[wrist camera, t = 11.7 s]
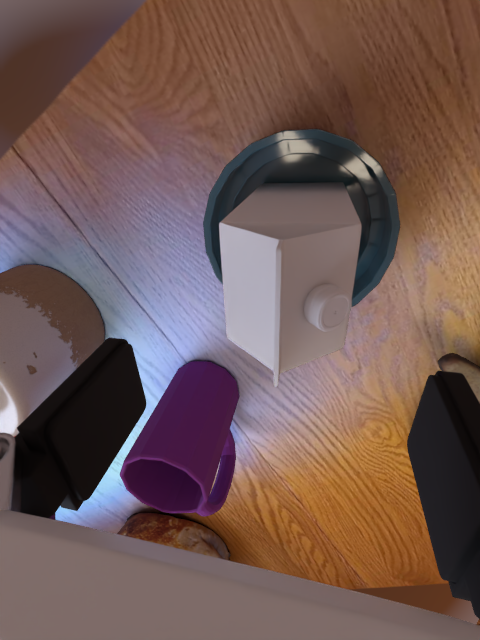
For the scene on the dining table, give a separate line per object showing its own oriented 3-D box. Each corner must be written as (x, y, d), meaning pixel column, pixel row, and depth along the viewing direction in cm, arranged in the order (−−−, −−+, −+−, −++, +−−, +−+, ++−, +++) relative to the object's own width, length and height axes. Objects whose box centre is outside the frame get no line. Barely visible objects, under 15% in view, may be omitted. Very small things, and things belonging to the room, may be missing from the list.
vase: (-18, 294, 45) (-176, 370, 30) (45, 241, 38) (-118, 305, 24) (60, 375, 50) (-44, 472, 35) (128, 340, 43) (34, 442, 29)
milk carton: (262, 258, 33) (207, 379, 17) (262, 182, 29) (192, 245, 13) (334, 260, 31) (350, 395, 15) (343, 181, 28) (375, 250, 12)
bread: (155, 564, 80) (128, 648, 68) (98, 506, 66) (51, 598, 54) (250, 573, 72) (239, 669, 60) (208, 509, 59) (181, 616, 47)
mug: (223, 351, 41) (179, 451, 28) (267, 437, 47) (247, 551, 34) (163, 365, 44) (101, 461, 31) (212, 443, 50) (175, 550, 37)
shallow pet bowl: (216, 133, 29) (194, 134, 24) (401, 125, 26) (421, 124, 21) (226, 290, 36) (211, 316, 31) (370, 298, 33) (379, 328, 28)
